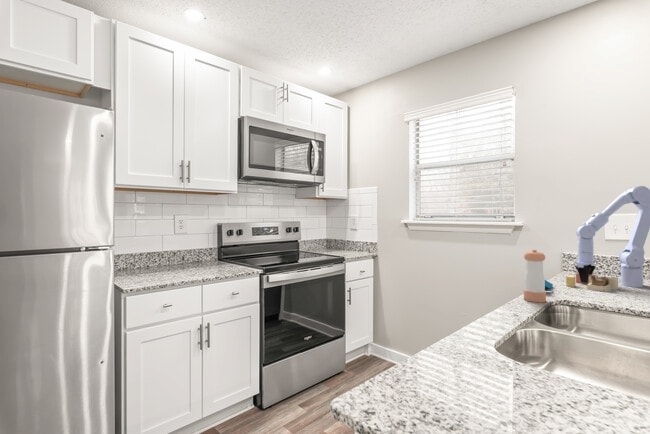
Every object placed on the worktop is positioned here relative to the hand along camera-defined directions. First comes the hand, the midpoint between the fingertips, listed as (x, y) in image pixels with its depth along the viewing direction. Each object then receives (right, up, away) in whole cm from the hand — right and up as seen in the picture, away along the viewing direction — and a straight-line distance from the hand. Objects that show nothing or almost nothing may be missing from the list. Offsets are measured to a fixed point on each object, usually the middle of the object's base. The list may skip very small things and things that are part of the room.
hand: (585, 281), depth 163 cm
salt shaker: (-39, -2, -27) cm, 48 cm away
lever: (-29, -2, -11) cm, 31 cm away
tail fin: (-11, -2, -6) cm, 13 cm away
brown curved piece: (-1, -1, -11) cm, 11 cm away
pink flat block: (0, -2, 0) cm, 2 cm away
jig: (-1, -2, -11) cm, 11 cm away
